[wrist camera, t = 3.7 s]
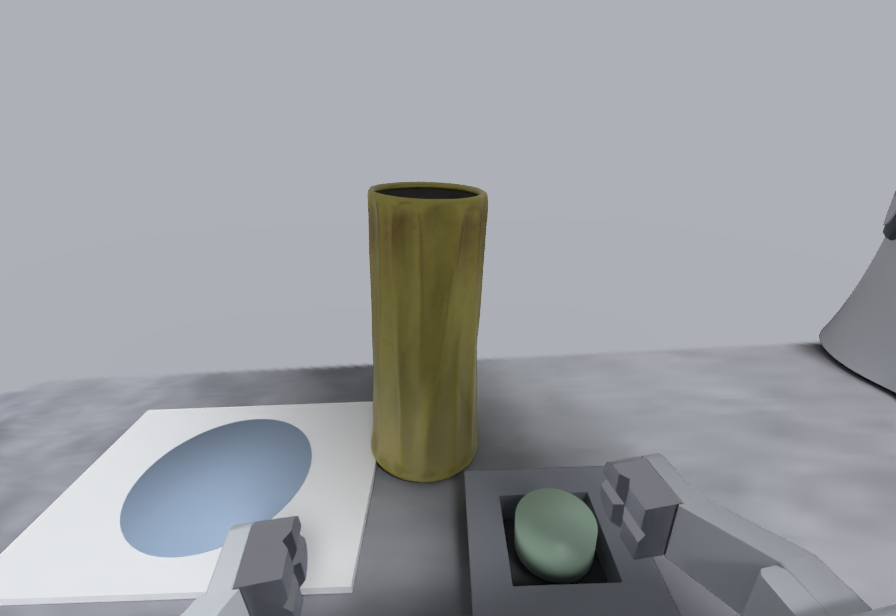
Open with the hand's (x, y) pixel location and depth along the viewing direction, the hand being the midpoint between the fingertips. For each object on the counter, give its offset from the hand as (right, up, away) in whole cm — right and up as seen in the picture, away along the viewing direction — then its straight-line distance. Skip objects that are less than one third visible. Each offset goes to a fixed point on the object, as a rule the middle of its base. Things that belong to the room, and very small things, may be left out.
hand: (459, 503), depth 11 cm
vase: (-2, -3, +13) cm, 13 cm away
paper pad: (-12, -4, +11) cm, 17 cm away
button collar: (+4, -6, +7) cm, 9 cm away
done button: (+4, -6, +7) cm, 9 cm away
